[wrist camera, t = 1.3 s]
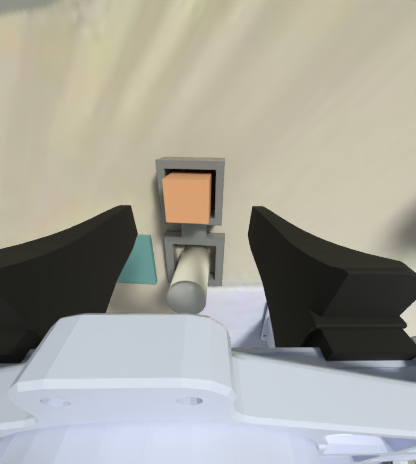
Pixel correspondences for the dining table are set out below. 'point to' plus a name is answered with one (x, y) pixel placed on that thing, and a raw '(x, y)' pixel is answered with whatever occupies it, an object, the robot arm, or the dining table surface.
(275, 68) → the dining table surface
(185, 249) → the cylinder
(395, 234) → the dining table surface
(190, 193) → the orange cube
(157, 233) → the dining table surface
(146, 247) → the mat
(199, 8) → the dining table surface
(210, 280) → the housing
